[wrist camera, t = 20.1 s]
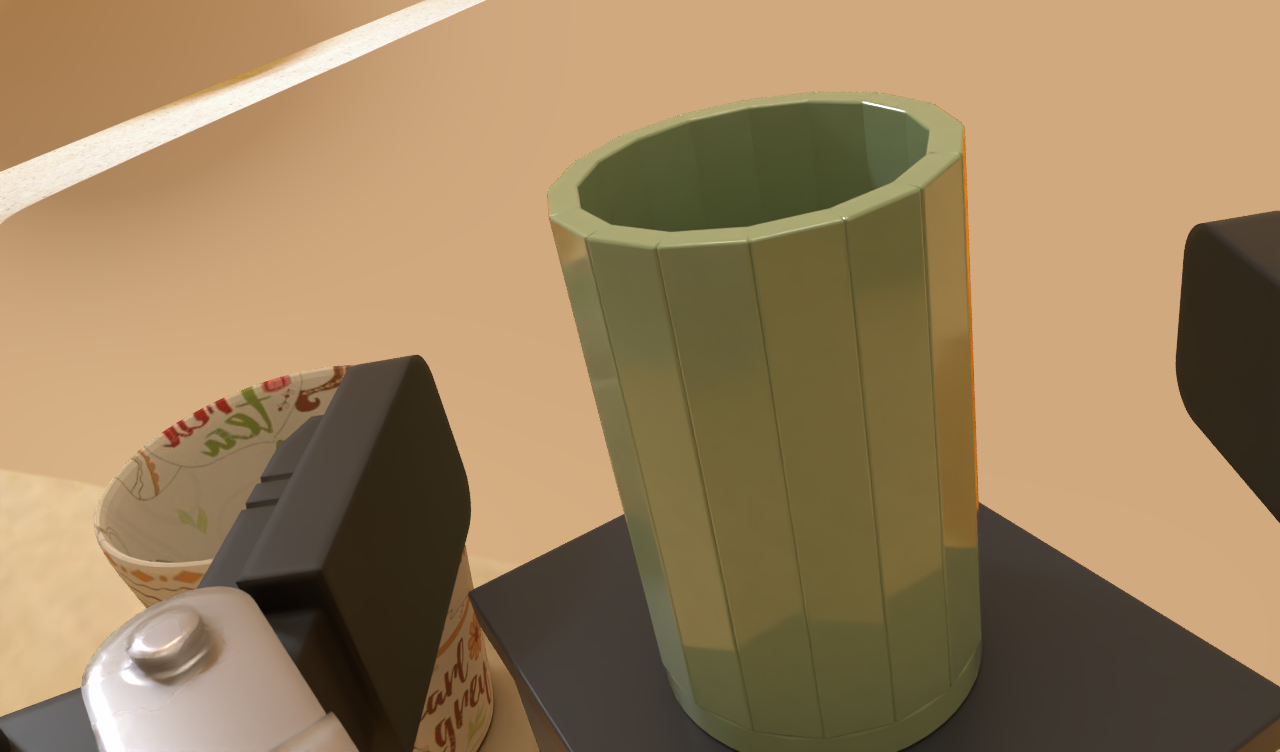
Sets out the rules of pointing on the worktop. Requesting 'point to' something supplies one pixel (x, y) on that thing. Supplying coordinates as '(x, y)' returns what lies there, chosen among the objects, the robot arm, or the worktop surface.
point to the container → (962, 747)
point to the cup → (790, 408)
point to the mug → (217, 492)
